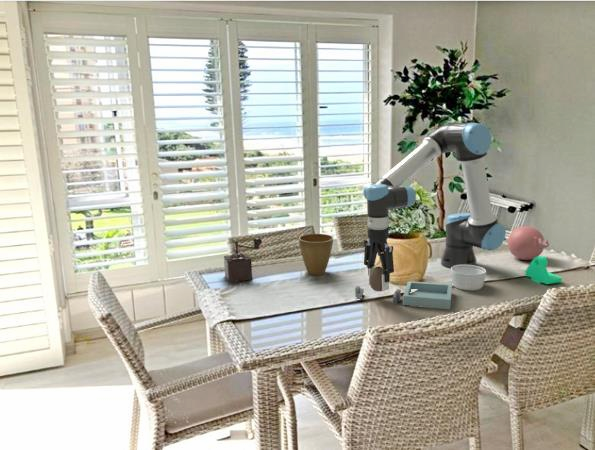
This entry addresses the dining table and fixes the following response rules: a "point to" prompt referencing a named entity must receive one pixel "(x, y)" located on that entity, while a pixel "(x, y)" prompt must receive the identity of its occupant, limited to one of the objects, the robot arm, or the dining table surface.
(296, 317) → the dining table surface
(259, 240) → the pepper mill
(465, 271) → the ramekin
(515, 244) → the balloon
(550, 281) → the green curved piece
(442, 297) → the parts bin
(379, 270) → the vase
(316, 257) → the plant pot
